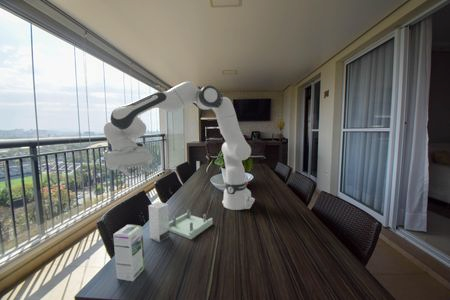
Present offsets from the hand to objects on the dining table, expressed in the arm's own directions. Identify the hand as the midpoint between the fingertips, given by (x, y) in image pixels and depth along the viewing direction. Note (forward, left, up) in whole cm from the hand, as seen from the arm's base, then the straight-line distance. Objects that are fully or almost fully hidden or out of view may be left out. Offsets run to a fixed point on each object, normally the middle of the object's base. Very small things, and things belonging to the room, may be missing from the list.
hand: (138, 172), depth 82 cm
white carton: (0, +12, -26) cm, 29 cm away
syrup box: (+18, +21, -26) cm, 38 cm away
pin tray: (-13, +17, -26) cm, 34 cm away
